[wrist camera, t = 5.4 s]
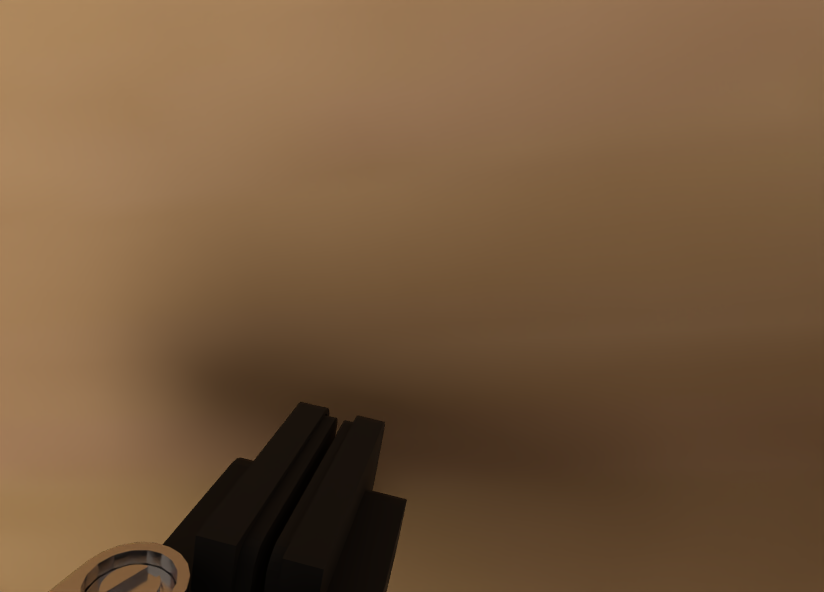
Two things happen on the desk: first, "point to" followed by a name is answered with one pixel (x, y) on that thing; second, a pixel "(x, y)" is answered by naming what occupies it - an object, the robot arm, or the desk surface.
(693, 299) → the desk surface
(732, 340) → the desk surface
